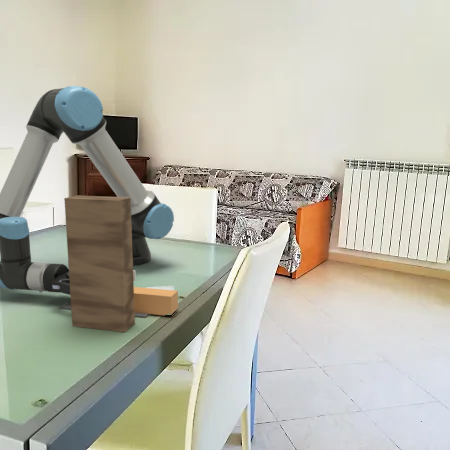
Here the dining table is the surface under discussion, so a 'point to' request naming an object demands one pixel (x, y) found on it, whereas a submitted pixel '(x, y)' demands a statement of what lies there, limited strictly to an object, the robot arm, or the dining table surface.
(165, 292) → the orange rod
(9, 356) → the dining table surface
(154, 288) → the hard drive
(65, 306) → the charcoal mat
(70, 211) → the walnut pedestal
